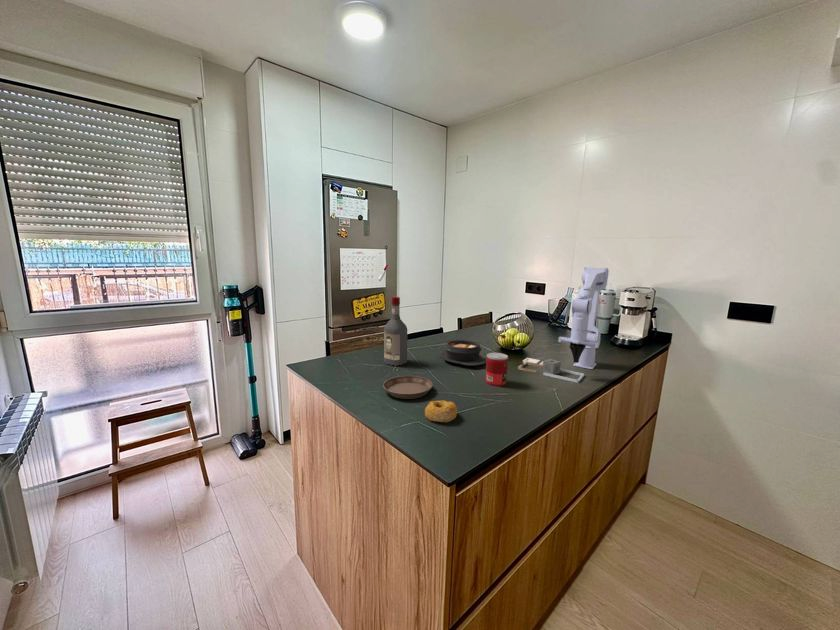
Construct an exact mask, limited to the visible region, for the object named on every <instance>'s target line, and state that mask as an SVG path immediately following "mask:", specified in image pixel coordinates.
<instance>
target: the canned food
mask: <svg viewBox="0 0 840 630" xmlns="http://www.w3.org/2000/svg"><path fill="white" fill-rule="evenodd" d="M485 360H486V363H485V383H486V384H487V385H490V386H492V387H503V386H506V385H507V380H508V367H509V366H508V365H509V355H507V354H505V353H501V352H490V353H489V352H488V353H486V359H485Z"/></svg>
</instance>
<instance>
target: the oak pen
mask: <svg viewBox="0 0 840 630" xmlns="http://www.w3.org/2000/svg"><path fill="white" fill-rule="evenodd" d="M526 365H529V366H533V367H539V368H542V369H543V365H540V363H538V364H535V363H531V362H525V363H524V362H522V363H521V364H520V365H519V366H517V370H518V371H519V370H520V371H524V372H526V373H527V372H529V373H532V374H537V370H535V369H530V368H525V366H526Z"/></svg>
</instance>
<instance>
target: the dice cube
mask: <svg viewBox="0 0 840 630" xmlns="http://www.w3.org/2000/svg"><path fill="white" fill-rule="evenodd" d="M542 361H543V368H542V369H541V371H542V373H549V374H553V375H557V374H560V373H561V371H560V369H561V363H562V362H561V361H560V360H555V359H552V358H548V359H545V360H542Z"/></svg>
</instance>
